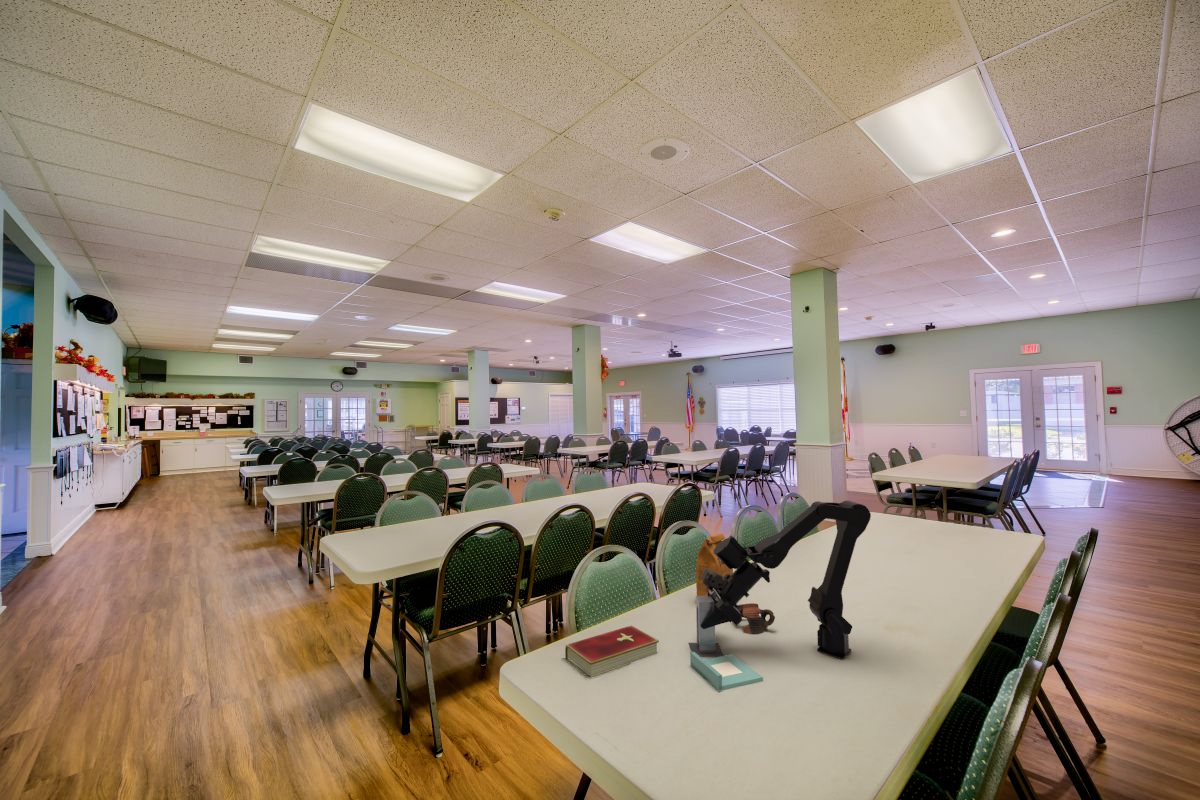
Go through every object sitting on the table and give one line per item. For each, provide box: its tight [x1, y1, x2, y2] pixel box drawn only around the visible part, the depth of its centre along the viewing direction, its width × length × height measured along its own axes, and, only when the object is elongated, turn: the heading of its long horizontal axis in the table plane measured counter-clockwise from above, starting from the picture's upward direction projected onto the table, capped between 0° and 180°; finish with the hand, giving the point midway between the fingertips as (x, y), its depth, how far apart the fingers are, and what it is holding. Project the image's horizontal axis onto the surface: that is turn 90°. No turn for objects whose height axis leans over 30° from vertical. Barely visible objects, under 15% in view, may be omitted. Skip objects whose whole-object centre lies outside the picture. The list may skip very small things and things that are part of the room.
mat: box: [687, 642, 725, 658], centre depth 128 cm, size 8×8×1 cm
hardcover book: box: [564, 625, 660, 678], centre depth 126 cm, size 12×21×4 cm, turn 124°
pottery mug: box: [737, 602, 776, 635], centre depth 142 cm, size 12×10×8 cm
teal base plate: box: [689, 652, 764, 693], centre depth 116 cm, size 12×12×4 cm
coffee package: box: [695, 533, 734, 596], centre depth 163 cm, size 10×12×22 cm
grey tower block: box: [695, 595, 716, 654], centre depth 128 cm, size 4×4×13 cm
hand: (700, 623), depth 129 cm, fingers closed on grey tower block, 4 cm apart
